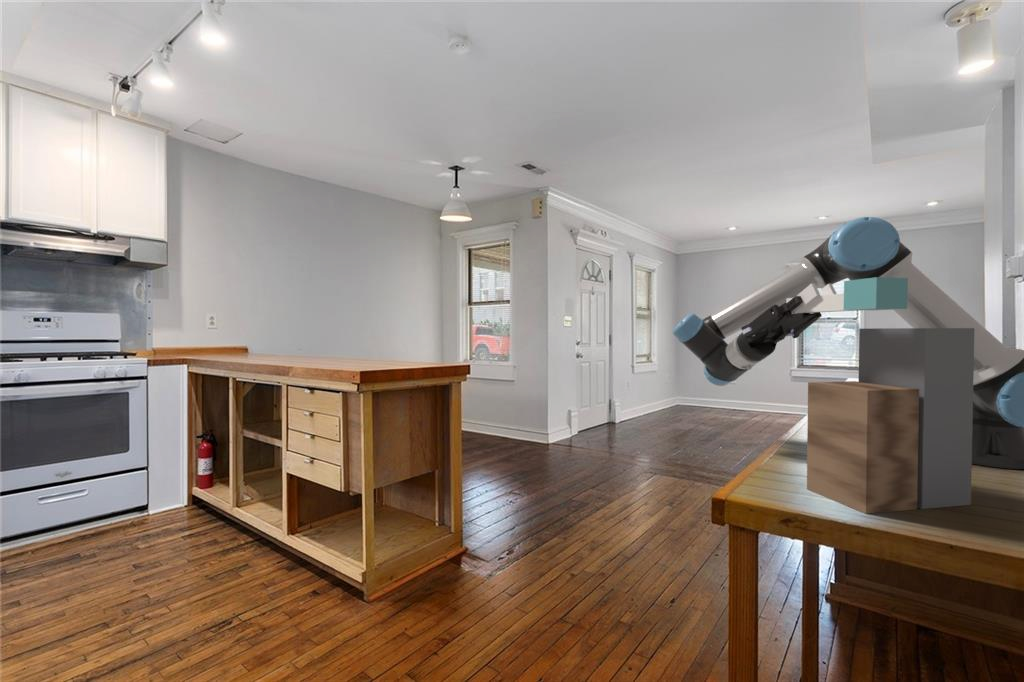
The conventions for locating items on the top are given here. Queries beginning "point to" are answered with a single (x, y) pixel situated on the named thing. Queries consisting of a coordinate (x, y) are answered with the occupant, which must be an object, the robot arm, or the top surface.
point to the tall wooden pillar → (863, 445)
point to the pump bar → (863, 296)
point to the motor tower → (930, 401)
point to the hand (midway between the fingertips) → (824, 289)
